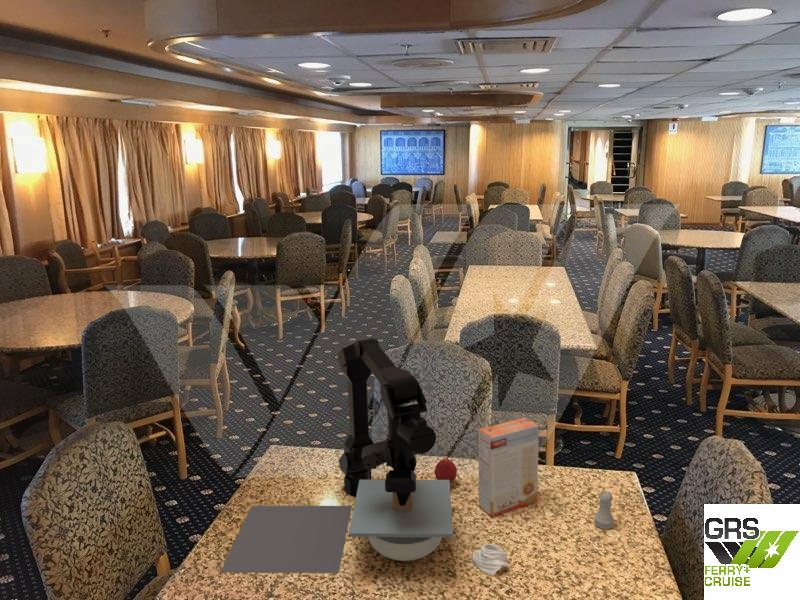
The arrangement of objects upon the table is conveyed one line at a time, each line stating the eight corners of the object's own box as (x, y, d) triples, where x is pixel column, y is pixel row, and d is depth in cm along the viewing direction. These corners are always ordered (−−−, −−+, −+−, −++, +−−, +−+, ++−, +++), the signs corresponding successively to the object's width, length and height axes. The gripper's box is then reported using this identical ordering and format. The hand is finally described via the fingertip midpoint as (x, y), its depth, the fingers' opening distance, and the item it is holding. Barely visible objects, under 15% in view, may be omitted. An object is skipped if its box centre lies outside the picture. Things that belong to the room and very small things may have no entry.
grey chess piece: (615, 521, 147) (617, 491, 145) (612, 532, 143) (614, 500, 141) (595, 517, 149) (597, 487, 147) (592, 527, 145) (594, 496, 143)
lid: (359, 482, 147) (358, 464, 146) (449, 482, 146) (449, 464, 145) (349, 536, 127) (348, 515, 126) (453, 537, 126) (453, 516, 125)
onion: (455, 491, 161) (455, 463, 159) (433, 489, 162) (433, 461, 160) (458, 479, 167) (458, 452, 165) (436, 478, 168) (436, 450, 166)
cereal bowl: (387, 583, 128) (387, 553, 126) (355, 540, 142) (354, 512, 141) (458, 557, 135) (458, 528, 134) (420, 518, 150) (420, 492, 148)
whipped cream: (466, 567, 134) (464, 547, 133) (485, 550, 138) (483, 531, 137) (497, 582, 128) (495, 562, 127) (516, 564, 133) (514, 544, 131)
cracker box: (523, 491, 161) (525, 415, 156) (538, 503, 155) (540, 425, 150) (476, 505, 155) (477, 427, 150) (490, 518, 149) (491, 437, 144)
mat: (251, 507, 156) (251, 505, 156) (351, 507, 155) (351, 505, 155) (220, 574, 132) (220, 572, 131) (338, 574, 131) (338, 572, 131)
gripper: (367, 415, 142) (369, 477, 145) (358, 454, 124) (361, 524, 127) (416, 414, 141) (417, 477, 145) (415, 454, 123) (416, 525, 127)
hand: (402, 499), depth 136 cm, fingers closed on lid, 4 cm apart
